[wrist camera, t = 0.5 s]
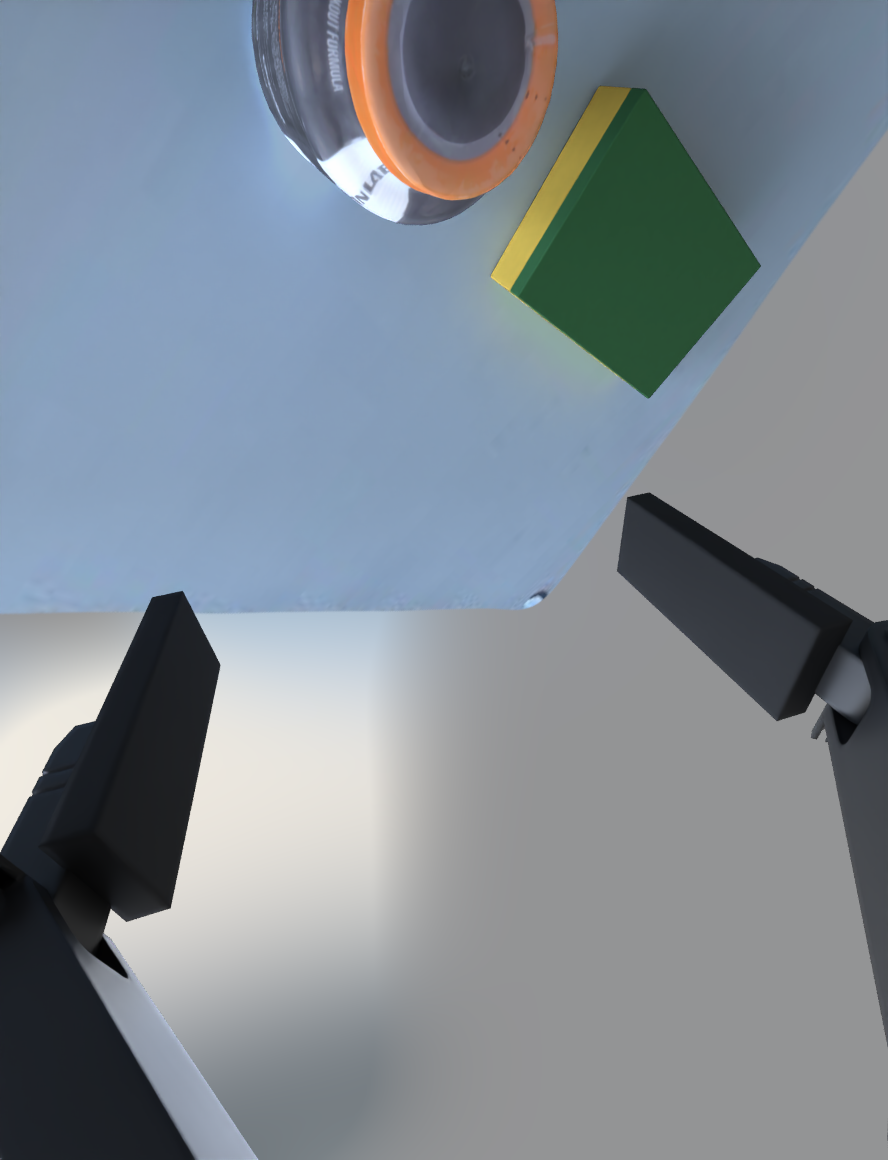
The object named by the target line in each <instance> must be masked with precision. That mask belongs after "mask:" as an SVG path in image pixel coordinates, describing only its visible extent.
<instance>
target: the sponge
mask: <svg viewBox="0 0 888 1160" xmlns="http://www.w3.org/2000/svg"><path fill="white" fill-rule="evenodd" d="M760 267H761V265H760V264H759V262H758V261H757V259H756V258H755V256H754V254H753V253H752V251H751V250H750V248H749V247H748V245H747V244H746V242H745V241H744V239H743V237H742V236H741V234H740V233H739V231H738V230H737V228H736V227H735V225H734V224H733V222H732V221H731V219H730V217H729V216H728V214H727V213H726V211H725V210H724V208H723V207H722V205H721V204H720V202H719V201H718V199H717V197H716V196H715V194H714V193H713V191H712V190H711V188H710V187H709V185H708V184H707V182H706V181H705V179H704V177H703V176H702V174H701V173H700V171H699V170H698V168H697V167H696V165H695V164H694V162H693V161H692V159H691V157H690V156H689V154H688V153H687V151H686V150H685V148H684V147H683V145H682V144H681V142H680V141H679V139H678V137H677V136H676V134H675V133H674V131H673V130H672V128H671V127H670V125H669V124H668V122H667V121H666V119H665V117H664V116H663V114H662V113H661V111H660V110H659V108H658V107H657V105H656V104H655V102H654V100H653V99H652V97H651V96H650V94H649V93H648V91H647V90H646V89H641V88H632V89H631V88H625V87H610V86H599V87H598V89H597V91H596V92H595V94H594V96H593V98H592V99H591V101H590V103H589V105H588V106H587V108H586V110H585V112H584V113H583V115H582V117H581V119H580V120H579V122H578V124H577V126H576V127H575V129H574V131H573V133H572V134H571V136H570V138H569V140H568V141H567V143H566V145H565V147H564V148H563V150H562V152H561V154H560V155H559V157H558V159H557V161H556V162H555V164H554V166H553V168H552V169H551V171H550V173H549V175H548V176H547V178H546V180H545V182H544V183H543V185H542V187H541V189H540V190H539V192H538V194H537V196H536V197H535V199H534V201H533V203H532V204H531V206H530V208H529V210H528V211H527V213H526V215H525V217H524V218H523V220H522V222H521V224H520V225H519V227H518V229H517V231H516V232H515V234H514V236H513V238H512V239H511V241H510V243H509V245H508V246H507V248H506V250H505V252H504V253H503V255H502V257H501V258H500V260H499V262H498V264H497V265H496V267H495V269H494V271H493V272H492V274H491V278H492V279H494V280H495V281H496V282H498V283H499V284H500V285H501V286H503V287H504V288H505V289H507V290H508V291H509V292H510V293H512V294H513V295H514V296H516V297H517V298H518V299H519V300H521V301H522V302H523V303H525V304H526V305H527V306H528V307H530V308H531V309H532V310H534V311H535V312H536V313H537V314H539V315H540V316H541V317H543V318H544V319H545V320H546V321H548V322H549V323H550V324H552V325H553V326H554V327H555V328H557V329H558V330H559V331H561V332H562V333H563V334H565V335H566V336H567V337H568V338H570V339H571V340H572V341H574V342H575V343H576V344H577V345H579V346H580V347H581V348H583V349H584V350H585V351H586V352H588V353H589V354H590V355H592V356H593V357H594V358H595V359H597V360H598V361H599V362H601V363H602V364H603V365H604V366H606V367H607V368H608V369H610V370H611V371H612V372H613V373H615V374H616V375H617V376H619V377H620V378H621V379H623V380H624V381H625V382H627V383H628V384H629V385H630V386H632V387H633V388H634V389H636V390H637V391H638V392H640V393H641V394H642V395H644V396H645V397H646V398H650V397H651V396H652V395H653V393H654V392H655V391H656V390H657V389H658V387H659V386H660V385H661V384H662V383H663V382H664V380H665V379H666V378H667V377H668V376H669V374H670V373H671V372H672V371H673V370H674V369H675V367H676V366H677V365H678V364H679V363H680V361H681V360H682V359H683V358H684V357H685V356H686V354H687V353H688V352H689V351H690V350H691V348H692V347H693V346H694V345H695V344H696V343H697V341H698V340H699V339H700V338H701V337H702V335H703V334H704V333H705V332H706V331H707V330H708V328H709V327H710V326H711V325H712V324H713V322H714V321H715V320H716V319H717V318H718V317H719V315H720V314H721V313H722V312H723V311H724V309H725V308H726V307H727V306H728V305H729V304H730V302H731V301H732V300H733V299H734V298H735V296H736V295H737V294H738V293H739V292H740V291H741V289H742V288H743V287H744V286H745V285H746V283H747V282H748V281H749V280H750V279H751V277H752V276H753V275H754V274H755V273H756V272H757V270H758V269H759V268H760Z"/></svg>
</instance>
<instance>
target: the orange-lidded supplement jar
mask: <svg viewBox="0 0 888 1160" xmlns="http://www.w3.org/2000/svg"><path fill="white" fill-rule="evenodd" d="M252 41H253V48H254V54H255V61H256V68H257V72H258V76H259V80H260V84H261V87H262V90H263V93H264V96H265V99H266V101H267V104H268V106H269V109H270V110H271V112H272V114H273V116H274V118H275V120H276V121H277V123H278V125H279V127H280V128H281V130H282V132H283V133H284V135H285V136H286V137H287V138H288V140H289V141H290V142H291V143H292V145H293V146H294V147H295V148H296V149H297V150H298V151H299V153H300V154H302V155H303V156H304V157H305V158H306V159H307V160H308V161H309V162H310V163H311V164H312V165H314V166H315V167H316V168H317V169H318V170H319V171H320V172H321V173H323V174H324V175H325V176H326V177H327V178H328V179H330V180H331V181H332V182H333V183H334V184H335V185H337V186H338V187H339V188H340V189H341V190H342V191H343V192H344V193H345V194H347V195H348V196H350V197H351V198H352V199H353V200H355V201H356V202H357V203H358V204H360V205H361V206H363V207H364V208H366V209H367V210H369V211H371V212H372V213H374V214H376V215H378V216H380V217H383V218H385V219H388V220H391V221H393V222H396V223H399V224H404V225H427V224H434V223H438V222H441V221H444V220H447V219H450V218H452V217H454V216H456V215H458V214H460V213H461V212H463V211H464V210H466V209H467V208H469V207H470V206H472V205H473V204H474V203H475V202H476V201H478V200H479V199H480V198H481V197H482V196H483V195H484V194H485V193H486V192H488V191H490V190H491V189H493V188H495V187H496V186H498V185H499V184H500V183H501V182H502V181H503V180H505V179H506V178H507V177H508V176H510V175H511V174H512V173H513V171H514V170H515V169H516V168H517V167H518V165H519V164H520V162H521V161H522V159H523V158H524V157H525V155H526V154H527V152H528V151H529V149H530V147H531V146H532V144H533V142H534V140H535V138H536V136H537V134H538V131H539V129H540V127H541V125H542V122H543V119H544V116H545V113H546V110H547V107H548V104H549V102H550V98H551V92H552V88H553V83H554V77H555V70H556V65H557V52H558V27H557V13H556V6H555V0H253V7H252Z"/></svg>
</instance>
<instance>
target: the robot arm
mask: <svg viewBox="0 0 888 1160" xmlns="http://www.w3.org/2000/svg"><path fill="white" fill-rule="evenodd" d="M617 571H618V572H619V573H620V574H621V575H622V576H623V577H624V578H625V579H626V580H627V581H628V582H629V583H630V584H632V585H633V586H634V587H635V588H636V589H637V590H638V591H639V592H640V593H641V594H642V595H643V596H644V597H645V598H646V599H647V600H649V602H651V603H652V604H653V605H654V606H655V607H656V608H657V609H658V610H659V611H660V612H661V613H662V614H663V615H664V616H666V617H667V618H668V619H669V620H670V621H671V622H672V623H673V624H674V625H675V626H676V627H677V628H678V629H680V631H681V632H682V633H684V634H685V635H686V636H687V637H688V638H689V639H690V640H691V641H692V642H693V643H694V644H695V645H696V646H698V648H700V649H701V650H702V651H703V652H704V653H705V654H706V655H707V656H708V657H709V658H710V659H711V660H712V661H713V662H714V663H715V664H717V665H718V666H719V667H720V668H721V669H722V670H723V671H724V672H725V673H726V674H727V675H728V676H729V677H730V678H731V679H733V680H734V681H735V682H736V683H737V684H738V685H739V686H740V687H741V688H742V689H743V690H744V691H745V692H747V694H749V695H750V696H751V697H752V698H753V699H754V700H755V701H756V702H757V703H758V704H759V705H760V706H761V707H762V708H763V709H764V710H766V711H767V712H768V713H769V714H770V715H771V716H772V717H773V718H774V719H775V720H776V721H779V720H782V719H785V718H788V717H792V716H795V715H798V714H801V713H804V712H806V710H807V708H808V706H809V704H810V702H811V700H812V698H813V696H814V694H817V695H818V696H819V697H820V698H821V699H823V700H824V701H825V702H826V703H827V705H826V706H825V708H824V710H823V712H822V713H821V715H820V717H819V719H818V721H817V723H816V724H815V726H814V728H813V730H812V734H811V738H813V739H817V738H818V736H819V735H820V733H821V731H822V730H823V729H825V730H826V735H827V738H826V740H825V741H826V742H828V745H829V750H830V755H831V761H832V766H833V771H834V776H835V781H836V785H837V791H838V796H839V801H840V806H841V811H842V816H843V822H844V827H845V831H846V837H847V841H848V847H849V852H850V857H851V862H852V867H853V872H854V878H855V883H856V887H857V893H858V897H859V903H860V908H861V913H862V918H863V923H864V928H865V933H866V938H867V944H868V948H869V954H870V959H871V964H872V968H873V974H874V979H875V984H876V989H877V994H878V1000H879V1005H880V1010H881V1015H882V1020H883V1025H884V1030H885V1035H886V1040H887V1045H888V620H886V621H881V622H875V623H874V622H872V621H871V620H869V619H867V618H866V617H864V616H862V615H860V614H859V613H857V612H856V611H854V610H853V609H851V608H849V607H848V606H846V605H844V604H842V603H841V602H839V601H838V600H836V599H834V598H833V597H831V596H829V595H828V594H826V593H824V592H823V591H821V590H819V589H815V588H814V586H813V585H811V584H810V583H808V582H806V581H805V580H803V579H802V580H800V579H799V577H798V576H797V575H795V574H793V573H792V572H790V571H788V570H787V569H785V568H783V567H782V566H780V565H777V564H774V563H771V562H768V561H766V560H763V559H760V558H753V557H751V556H750V555H748V554H747V553H745V552H743V551H742V550H740V549H739V548H737V547H735V546H734V545H732V544H731V543H729V542H728V541H726V540H724V539H723V538H721V537H720V536H718V535H716V534H715V533H713V532H712V531H710V530H708V529H707V528H705V527H704V526H702V525H700V524H699V523H697V522H696V521H694V520H692V519H691V518H689V517H688V516H686V515H684V514H683V513H681V512H679V511H678V510H676V509H675V508H673V507H672V506H670V505H668V504H667V503H665V502H664V501H662V500H660V499H659V498H657V497H656V496H654V495H652V494H651V493H645V494H640V495H635V496H631V497H627V503H626V510H625V517H624V525H623V532H622V539H621V546H620V554H619V561H618V569H617ZM219 670H220V663H219V661H218V659H217V657H216V655H215V653H214V651H213V649H212V647H211V645H210V643H209V641H208V640H207V638H206V635H205V634H204V632H203V630H202V628H201V626H200V624H199V622H198V620H197V618H196V616H195V614H194V612H193V610H192V608H191V606H190V604H189V602H188V600H187V598H186V596H185V594H184V592H183V591H180V592H175V593H171V594H166V595H161V596H156V597H152V599H151V601H150V603H149V606H148V608H147V610H146V612H145V614H144V617H143V619H142V621H141V623H140V625H139V627H138V630H137V632H136V634H135V636H134V639H133V641H132V643H131V645H130V647H129V649H128V652H127V654H126V656H125V658H124V660H123V662H122V665H121V667H120V669H119V671H118V673H117V675H116V678H115V680H114V682H113V684H112V686H111V689H110V691H109V693H108V695H107V697H106V699H105V702H104V704H103V706H102V708H101V710H100V713H99V715H98V717H97V719H96V721H94V722H90V723H86V724H82V725H78V726H75V727H74V728H73V729H72V730H71V731H70V732H69V733H68V734H67V735H66V737H65V738H64V739H63V740H62V741H61V742H60V743H59V744H58V745H57V746H56V747H55V748H54V750H53V752H52V754H51V756H50V758H49V760H48V762H47V764H46V765H45V768H44V769H43V771H42V773H43V776H41V777H39V779H38V781H37V783H36V785H35V787H34V789H33V791H32V793H33V795H32V796H31V797H29V798H28V800H27V802H26V804H25V806H24V808H23V810H22V812H21V814H20V816H19V817H18V820H17V821H16V823H15V825H14V827H13V829H12V831H11V833H10V835H9V837H8V839H7V841H6V842H5V844H4V846H3V848H2V850H1V852H0V1160H258V1159H257V1157H256V1156H255V1154H254V1153H253V1151H252V1150H251V1148H250V1147H249V1145H248V1144H247V1142H246V1141H245V1139H244V1138H243V1136H242V1135H241V1133H240V1132H239V1130H238V1129H237V1128H236V1126H235V1124H234V1123H233V1121H232V1120H231V1118H230V1117H229V1115H228V1114H227V1112H226V1111H225V1109H224V1108H223V1106H222V1105H221V1103H220V1102H219V1100H218V1099H217V1097H216V1096H215V1094H214V1093H213V1091H212V1090H211V1088H210V1087H209V1085H208V1084H207V1082H206V1081H205V1079H204V1078H203V1076H202V1075H201V1073H200V1072H199V1070H198V1069H197V1067H196V1066H195V1064H194V1063H193V1061H192V1060H191V1058H190V1057H189V1055H188V1054H187V1052H186V1051H185V1050H184V1048H183V1046H182V1045H181V1043H180V1042H179V1041H178V1039H177V1037H176V1036H175V1034H174V1033H173V1031H172V1030H171V1028H170V1027H169V1025H168V1024H167V1022H166V1021H165V1019H164V1018H163V1016H162V1015H161V1013H160V1012H159V1010H158V1009H157V1007H156V1006H155V1004H154V1003H153V1001H152V1000H151V998H150V997H149V995H148V994H147V992H146V991H145V989H144V988H143V986H142V985H141V983H140V982H139V980H138V979H137V977H136V976H135V974H134V973H133V971H132V970H131V968H130V967H129V965H128V964H127V962H126V961H125V959H124V958H123V956H122V955H121V953H120V952H119V950H118V949H117V947H116V946H115V944H114V943H113V941H112V940H111V939H110V938H109V937H108V936H106V935H105V934H104V929H105V926H106V923H107V919H108V916H109V913H110V909H112V910H113V911H114V912H115V913H117V914H118V915H119V916H120V917H121V918H122V919H124V920H125V921H126V922H127V921H131V920H134V919H137V918H140V917H144V916H147V915H150V914H153V913H157V912H160V911H163V910H166V909H170V908H171V904H172V899H173V894H174V889H175V884H176V880H177V875H178V870H179V865H180V860H181V855H182V850H183V845H184V841H185V836H186V831H187V826H188V821H189V816H190V811H191V806H192V802H193V797H194V792H195V787H196V782H197V777H198V772H199V767H200V762H201V758H202V752H203V748H204V742H205V738H206V733H207V728H208V723H209V719H210V714H211V709H212V704H213V699H214V694H215V689H216V685H217V680H218V674H219ZM887 1137H888V1135H887Z"/></svg>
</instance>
